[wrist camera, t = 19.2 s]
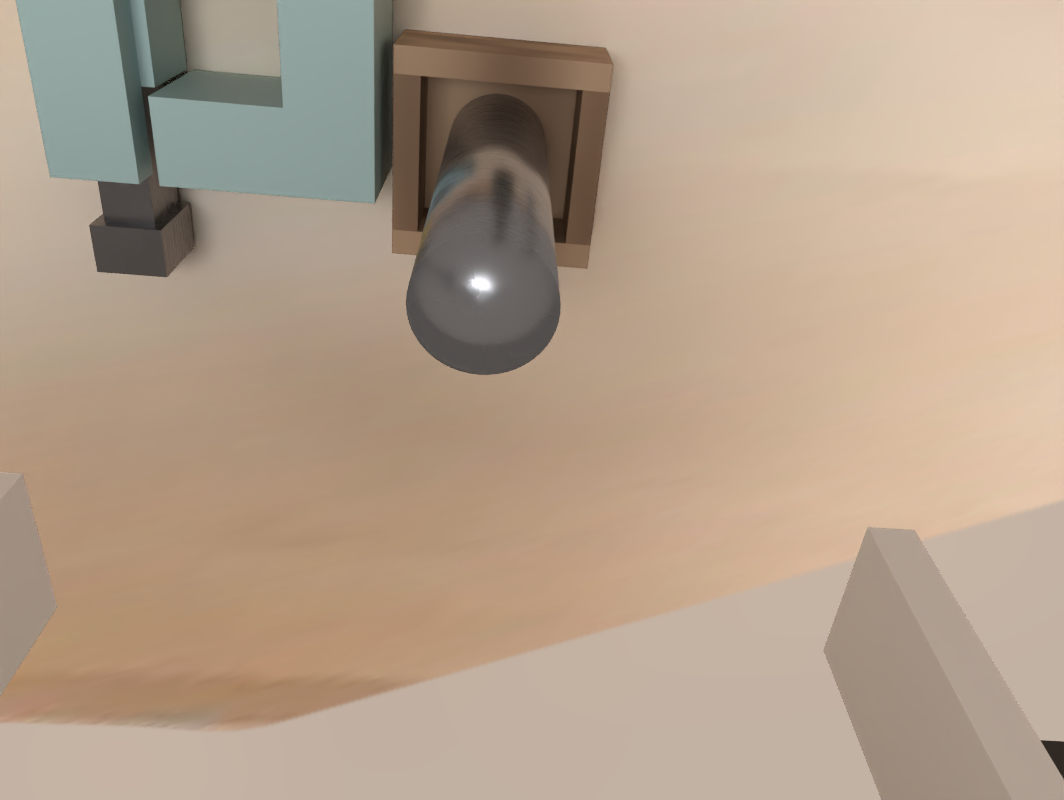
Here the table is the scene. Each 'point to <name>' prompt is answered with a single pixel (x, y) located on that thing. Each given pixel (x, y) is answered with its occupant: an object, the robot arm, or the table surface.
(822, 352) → the table surface
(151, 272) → the block
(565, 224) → the brown wooden tray
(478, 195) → the cylinder
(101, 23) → the chuck block
